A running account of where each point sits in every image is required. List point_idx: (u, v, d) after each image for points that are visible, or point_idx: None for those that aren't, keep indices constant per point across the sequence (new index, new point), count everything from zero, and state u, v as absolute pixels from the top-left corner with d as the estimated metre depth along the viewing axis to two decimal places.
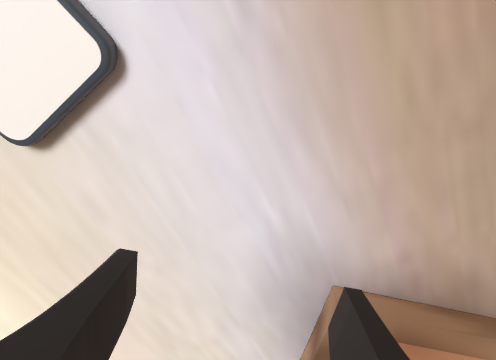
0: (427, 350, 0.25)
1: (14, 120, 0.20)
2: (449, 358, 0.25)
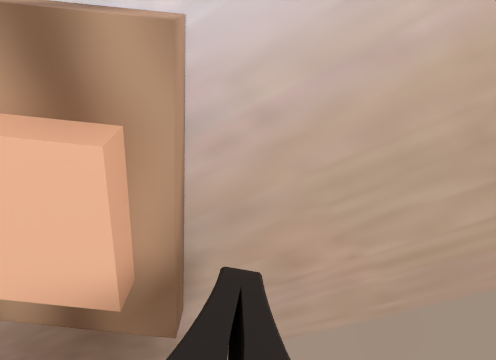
0: (126, 193, 0.16)
1: None
2: (126, 225, 0.16)
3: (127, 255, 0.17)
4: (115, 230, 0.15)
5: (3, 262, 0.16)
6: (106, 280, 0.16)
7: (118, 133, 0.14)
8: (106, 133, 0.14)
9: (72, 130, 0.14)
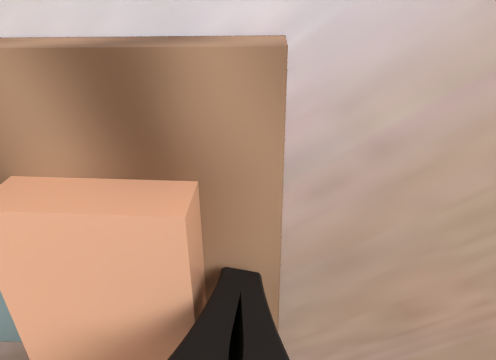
0: (202, 259, 0.13)
1: None
2: (203, 296, 0.13)
3: None
4: (196, 310, 0.12)
5: (62, 353, 0.13)
6: None
7: (195, 192, 0.11)
8: (182, 195, 0.11)
9: (140, 194, 0.11)
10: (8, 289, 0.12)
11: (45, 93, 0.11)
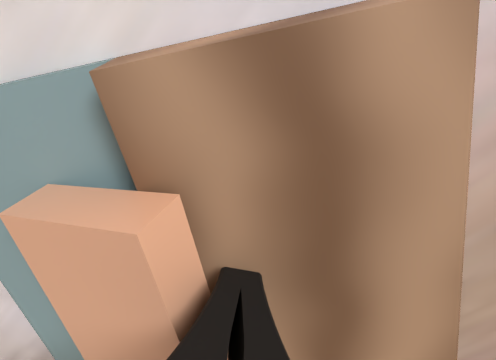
0: (200, 273, 0.12)
1: None
2: None
3: None
4: (182, 325, 0.12)
5: (91, 341, 0.14)
6: None
7: (171, 206, 0.11)
8: (154, 209, 0.11)
9: (121, 206, 0.11)
10: (41, 281, 0.14)
11: (214, 92, 0.10)
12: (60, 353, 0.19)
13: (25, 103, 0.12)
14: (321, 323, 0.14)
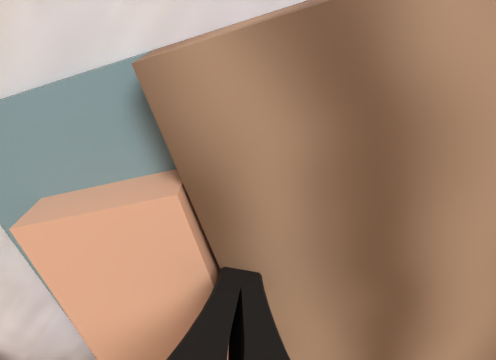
0: None
1: None
2: None
3: None
4: (214, 278, 0.13)
5: (115, 339, 0.15)
6: None
7: None
8: (176, 179, 0.13)
9: (142, 186, 0.13)
10: (57, 290, 0.14)
11: (259, 74, 0.10)
12: None
13: (65, 104, 0.12)
14: (375, 310, 0.14)
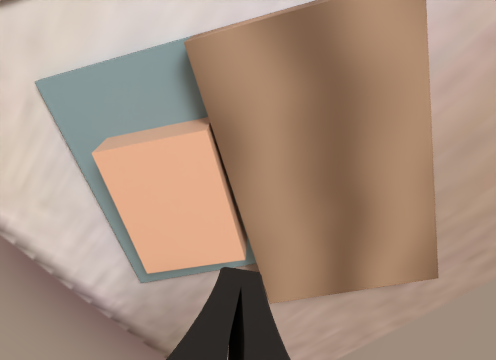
0: None
1: None
2: (232, 192, 0.21)
3: (238, 216, 0.22)
4: (227, 194, 0.20)
5: (154, 241, 0.21)
6: (229, 235, 0.21)
7: None
8: (204, 123, 0.19)
9: (181, 127, 0.19)
10: (118, 201, 0.20)
11: (262, 51, 0.16)
12: (140, 268, 0.25)
13: (131, 70, 0.19)
14: (337, 220, 0.20)
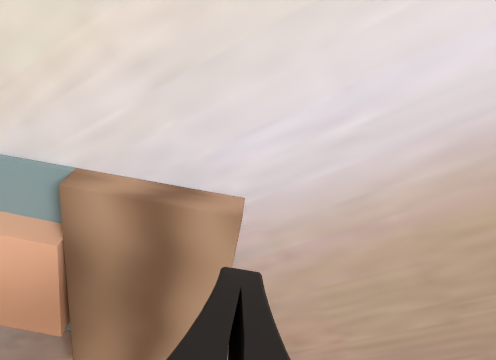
0: None
1: None
2: None
3: None
4: (61, 289, 0.24)
5: None
6: (53, 317, 0.25)
7: None
8: (61, 233, 0.23)
9: (40, 229, 0.22)
10: None
11: (118, 214, 0.21)
12: None
13: (15, 171, 0.22)
14: (143, 332, 0.25)
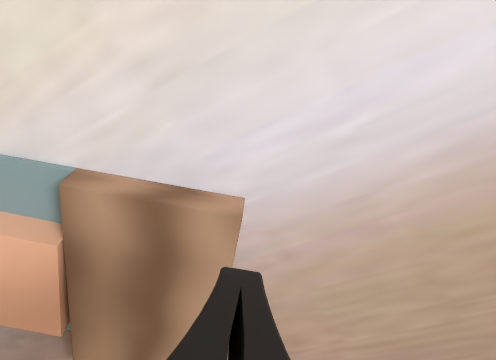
0: None
1: None
2: None
3: None
4: (61, 289, 0.24)
5: None
6: (53, 317, 0.25)
7: None
8: (61, 233, 0.23)
9: (40, 229, 0.22)
10: None
11: (118, 214, 0.21)
12: None
13: (15, 171, 0.22)
14: (143, 332, 0.25)
